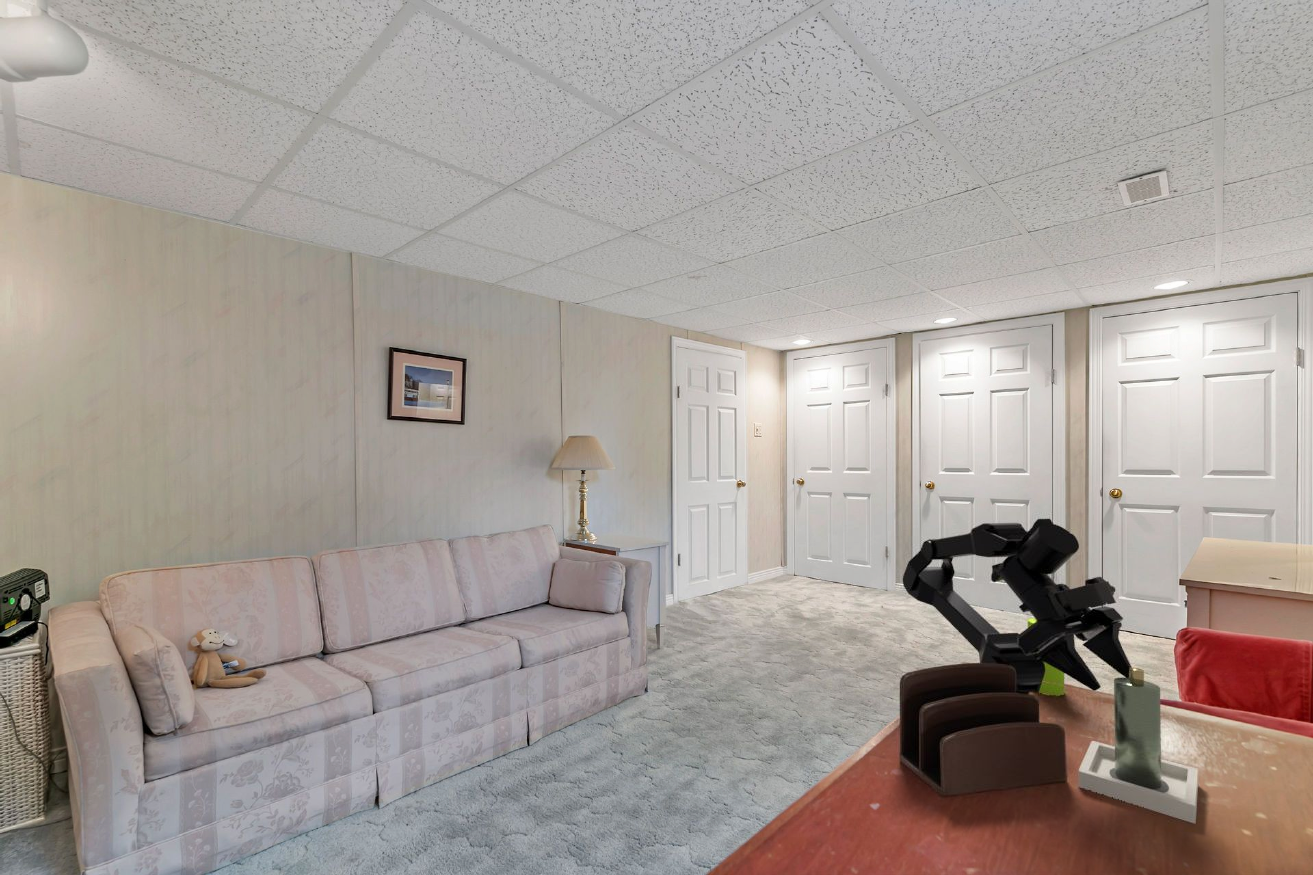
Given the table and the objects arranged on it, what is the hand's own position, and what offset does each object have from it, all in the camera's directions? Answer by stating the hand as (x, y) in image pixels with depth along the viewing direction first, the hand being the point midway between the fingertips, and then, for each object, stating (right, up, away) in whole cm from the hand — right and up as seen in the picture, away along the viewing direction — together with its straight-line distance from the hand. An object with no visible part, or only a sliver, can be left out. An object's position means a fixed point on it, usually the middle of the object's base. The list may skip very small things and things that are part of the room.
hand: (1115, 683), depth 86 cm
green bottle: (+1, -12, -3) cm, 12 cm away
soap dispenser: (+11, -14, +31) cm, 35 cm away
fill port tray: (+1, -13, -3) cm, 13 cm away
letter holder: (-19, -14, +1) cm, 23 cm away
